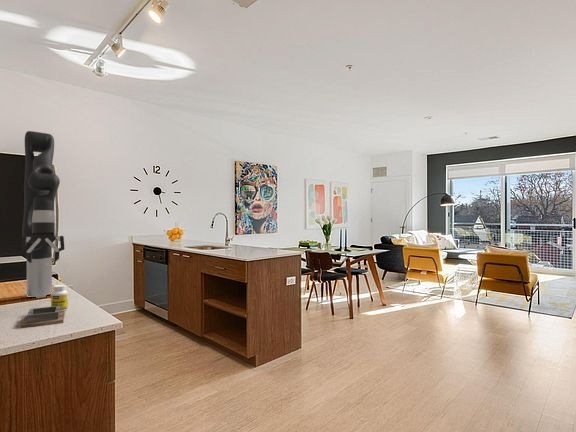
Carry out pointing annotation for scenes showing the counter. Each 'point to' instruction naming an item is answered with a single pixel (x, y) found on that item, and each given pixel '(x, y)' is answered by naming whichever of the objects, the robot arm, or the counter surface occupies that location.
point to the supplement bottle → (59, 297)
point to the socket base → (43, 316)
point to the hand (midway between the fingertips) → (43, 261)
